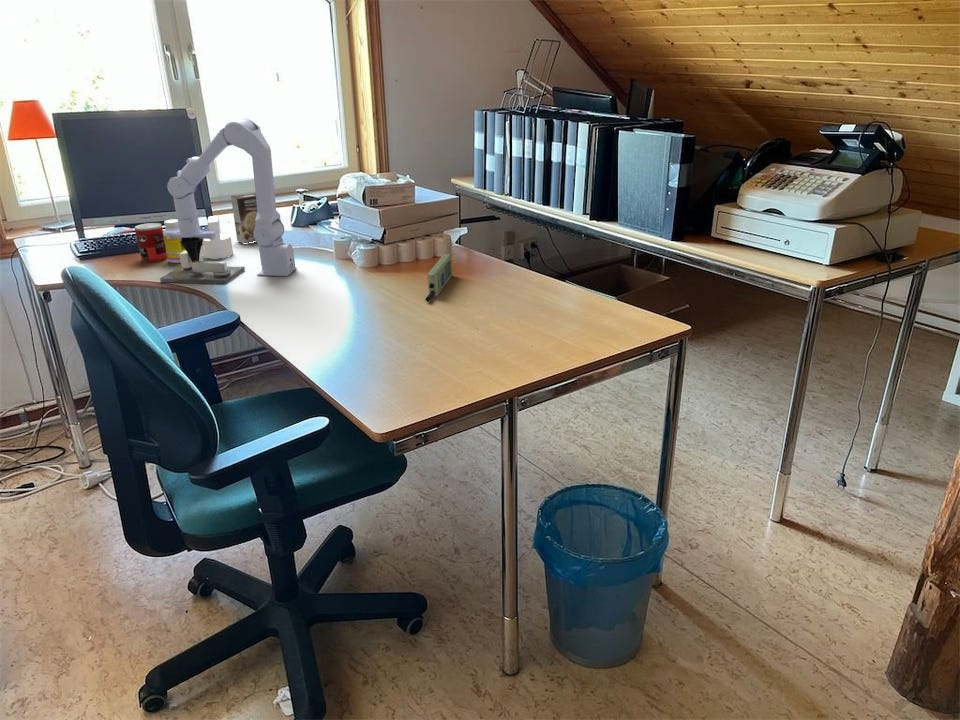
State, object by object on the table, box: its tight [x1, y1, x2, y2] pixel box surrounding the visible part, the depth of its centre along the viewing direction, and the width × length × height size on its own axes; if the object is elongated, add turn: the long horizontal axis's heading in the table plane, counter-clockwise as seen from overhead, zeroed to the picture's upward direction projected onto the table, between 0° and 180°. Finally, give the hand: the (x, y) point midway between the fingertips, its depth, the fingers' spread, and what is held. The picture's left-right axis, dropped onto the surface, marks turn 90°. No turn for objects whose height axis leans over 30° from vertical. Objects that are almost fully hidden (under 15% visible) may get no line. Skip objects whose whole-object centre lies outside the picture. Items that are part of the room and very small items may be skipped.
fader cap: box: [179, 251, 192, 268], centre depth 211 cm, size 2×4×4 cm, turn 173°
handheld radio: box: [425, 253, 453, 303], centre depth 194 cm, size 7×3×25 cm
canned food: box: [134, 222, 168, 263], centre depth 223 cm, size 8×8×11 cm
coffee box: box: [230, 192, 257, 244], centre depth 241 cm, size 9×6×16 cm
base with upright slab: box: [202, 215, 234, 260], centre depth 226 cm, size 9×9×12 cm
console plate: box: [159, 265, 246, 285], centre depth 208 cm, size 20×13×1 cm, turn 83°
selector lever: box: [192, 260, 231, 276], centre depth 204 cm, size 11×5×4 cm, turn 83°
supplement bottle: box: [163, 218, 186, 264], centre depth 221 cm, size 7×7×13 cm
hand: (195, 261), depth 211 cm, fingers closed
